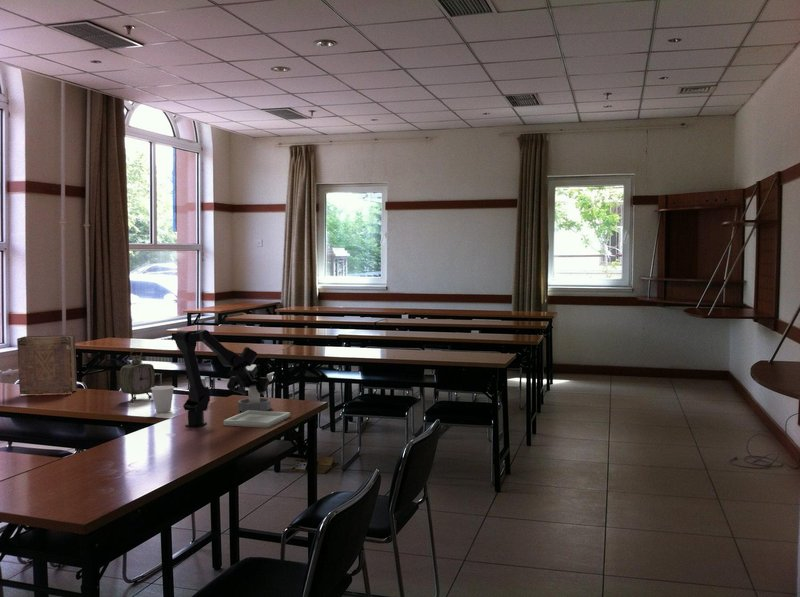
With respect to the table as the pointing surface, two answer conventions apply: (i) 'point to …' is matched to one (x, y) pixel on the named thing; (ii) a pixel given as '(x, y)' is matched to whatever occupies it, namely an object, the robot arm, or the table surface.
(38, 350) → the book
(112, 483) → the table surface
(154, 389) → the cup
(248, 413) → the tray
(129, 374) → the tabletop clock
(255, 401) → the canister
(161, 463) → the table surface
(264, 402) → the collar
